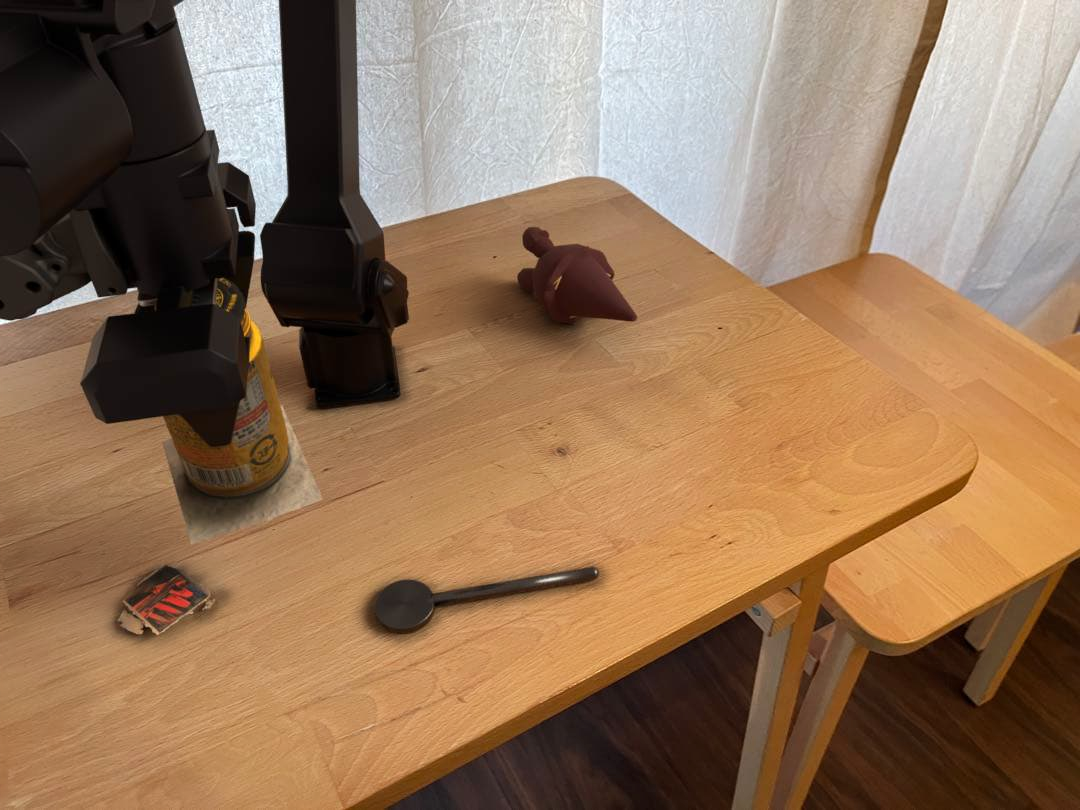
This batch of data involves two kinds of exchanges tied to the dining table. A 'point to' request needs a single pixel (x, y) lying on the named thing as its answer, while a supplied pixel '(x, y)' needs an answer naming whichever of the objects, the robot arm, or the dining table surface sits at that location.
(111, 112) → the robot arm
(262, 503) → the condiment
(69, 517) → the dining table surface
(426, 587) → the steel spoon
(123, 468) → the dining table surface
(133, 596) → the torn cardboard piece
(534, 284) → the brown gnome figurine
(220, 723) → the dining table surface
